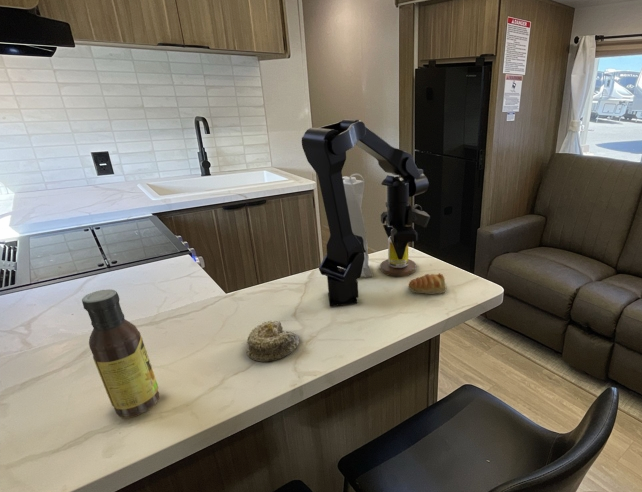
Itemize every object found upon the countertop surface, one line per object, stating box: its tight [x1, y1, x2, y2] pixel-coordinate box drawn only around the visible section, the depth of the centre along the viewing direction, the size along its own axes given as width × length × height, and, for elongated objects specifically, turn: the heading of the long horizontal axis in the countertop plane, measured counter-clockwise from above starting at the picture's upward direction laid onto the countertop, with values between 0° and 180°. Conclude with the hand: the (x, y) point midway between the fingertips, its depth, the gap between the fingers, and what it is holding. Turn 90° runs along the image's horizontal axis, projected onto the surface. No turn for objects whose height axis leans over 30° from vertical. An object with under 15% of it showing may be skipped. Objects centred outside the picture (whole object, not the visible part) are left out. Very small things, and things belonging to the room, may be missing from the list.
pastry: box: [408, 272, 447, 295], centre depth 102 cm, size 9×7×4 cm
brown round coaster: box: [380, 258, 417, 277], centre depth 113 cm, size 10×10×1 cm
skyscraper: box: [342, 172, 374, 280], centre depth 104 cm, size 8×8×28 cm
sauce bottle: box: [81, 288, 160, 418], centre depth 60 cm, size 6×6×20 cm
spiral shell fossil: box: [246, 320, 300, 362], centre depth 78 cm, size 10×10×5 cm
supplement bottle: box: [387, 229, 409, 268], centre depth 111 cm, size 6×6×10 cm
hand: (398, 255), depth 112 cm, fingers closed on supplement bottle, 5 cm apart
